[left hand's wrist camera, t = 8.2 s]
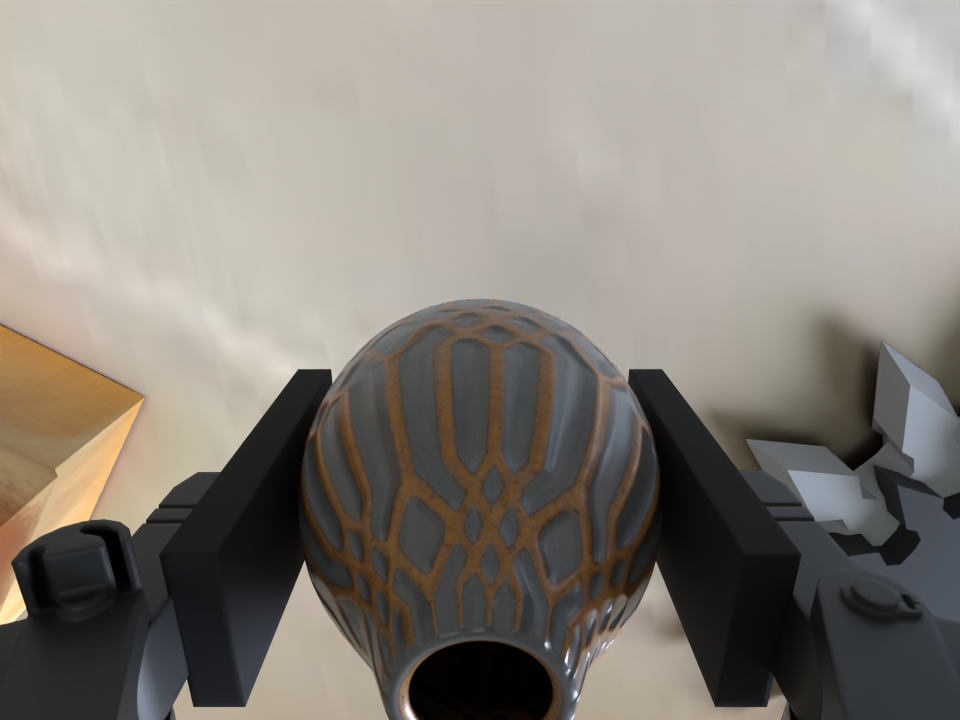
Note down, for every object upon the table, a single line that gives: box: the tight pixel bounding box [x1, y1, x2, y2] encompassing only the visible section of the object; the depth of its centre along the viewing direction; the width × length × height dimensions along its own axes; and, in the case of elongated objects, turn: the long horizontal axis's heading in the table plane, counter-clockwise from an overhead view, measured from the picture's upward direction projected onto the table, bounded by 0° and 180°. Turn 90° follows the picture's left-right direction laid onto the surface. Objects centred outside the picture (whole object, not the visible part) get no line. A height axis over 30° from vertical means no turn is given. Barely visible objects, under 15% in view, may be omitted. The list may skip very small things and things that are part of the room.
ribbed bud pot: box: [298, 299, 663, 720], centre depth 11 cm, size 7×7×9 cm
